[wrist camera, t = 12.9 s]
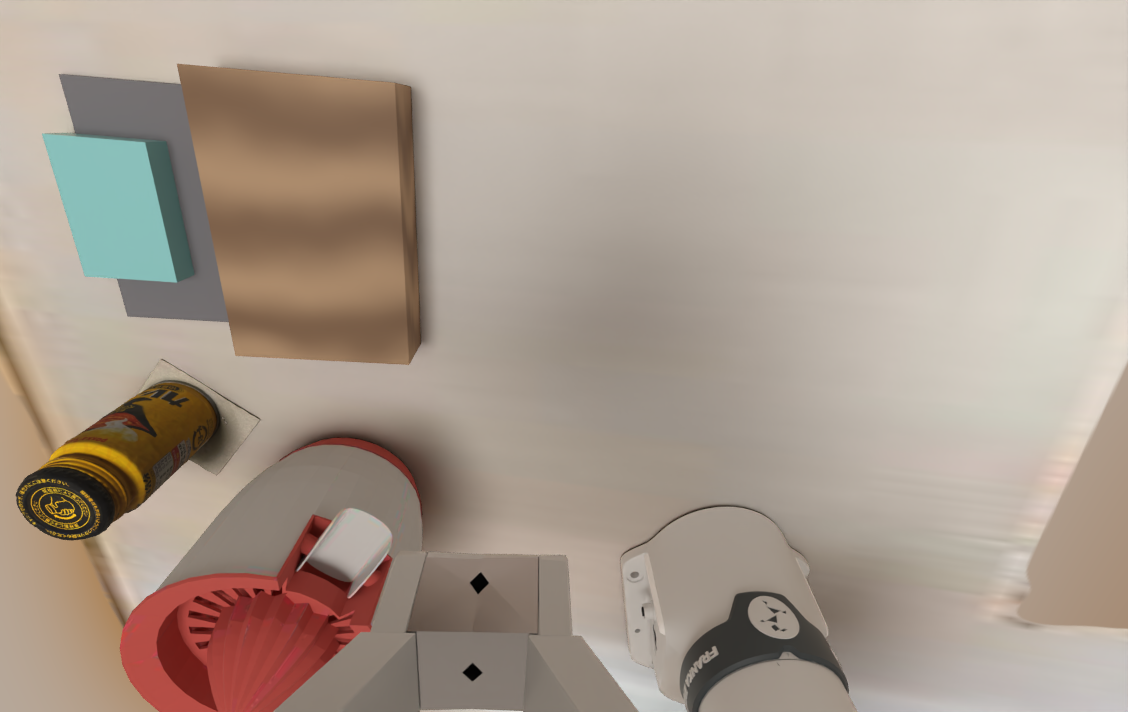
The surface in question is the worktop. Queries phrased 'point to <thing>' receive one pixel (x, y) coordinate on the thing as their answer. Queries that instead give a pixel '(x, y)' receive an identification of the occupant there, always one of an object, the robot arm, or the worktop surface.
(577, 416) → the worktop surface
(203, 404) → the condiment
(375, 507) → the citrus juicer
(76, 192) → the block
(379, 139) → the board
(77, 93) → the mat
